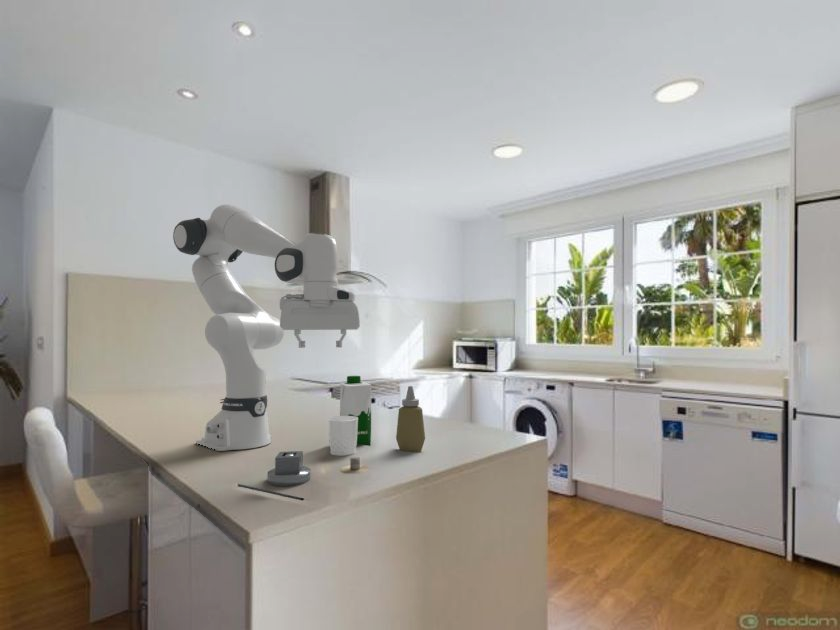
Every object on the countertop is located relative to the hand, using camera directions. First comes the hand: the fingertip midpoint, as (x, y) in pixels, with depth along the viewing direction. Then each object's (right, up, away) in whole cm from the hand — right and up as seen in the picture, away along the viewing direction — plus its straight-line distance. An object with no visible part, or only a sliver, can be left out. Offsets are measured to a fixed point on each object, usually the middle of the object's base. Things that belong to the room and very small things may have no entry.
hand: (320, 347), depth 117 cm
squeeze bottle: (+23, -30, +8) cm, 38 cm away
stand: (+11, -29, -11) cm, 32 cm away
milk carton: (+7, -30, +16) cm, 34 cm away
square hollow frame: (-3, -26, -19) cm, 32 cm away
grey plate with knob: (-3, -28, -19) cm, 34 cm away
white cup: (+5, -30, +4) cm, 30 cm away
